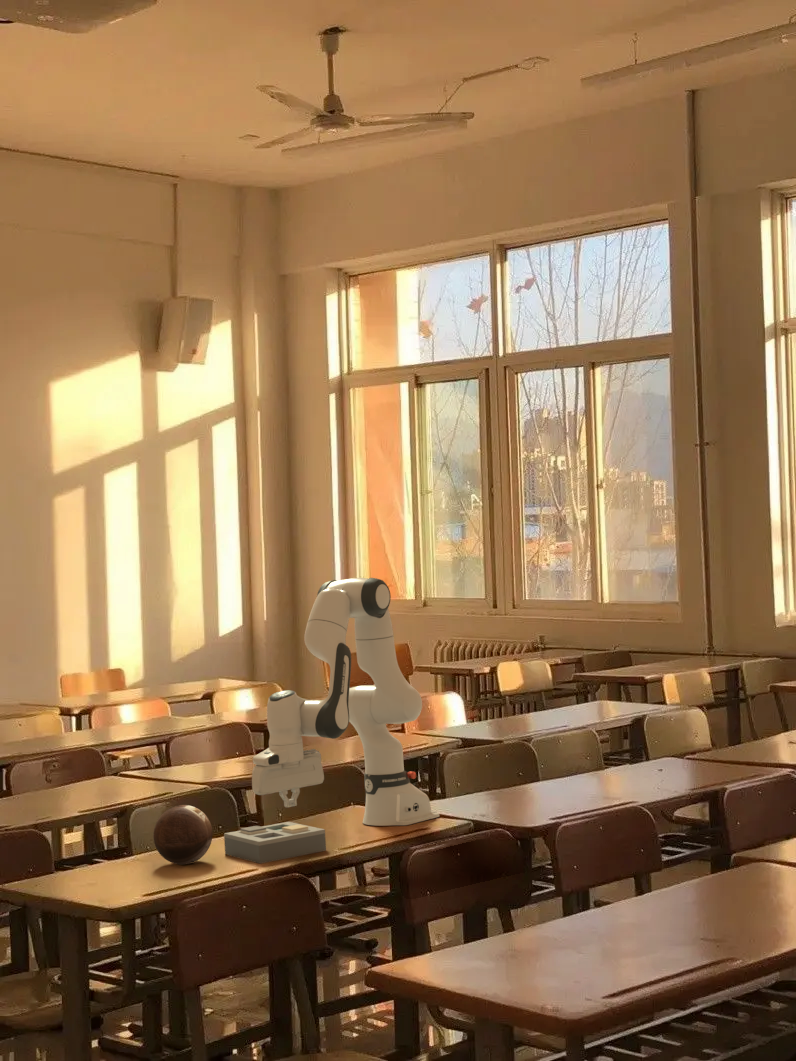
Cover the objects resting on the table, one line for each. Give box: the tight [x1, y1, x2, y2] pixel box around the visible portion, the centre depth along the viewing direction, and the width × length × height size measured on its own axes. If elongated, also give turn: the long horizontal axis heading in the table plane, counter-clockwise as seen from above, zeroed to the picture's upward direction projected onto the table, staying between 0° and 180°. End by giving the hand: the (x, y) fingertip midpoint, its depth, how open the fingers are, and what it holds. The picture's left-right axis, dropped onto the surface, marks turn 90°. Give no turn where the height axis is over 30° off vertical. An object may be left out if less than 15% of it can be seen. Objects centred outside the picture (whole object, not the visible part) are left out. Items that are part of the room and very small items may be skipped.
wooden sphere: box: [152, 804, 213, 865], centre depth 385 cm, size 15×15×15 cm
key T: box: [282, 823, 309, 834], centre depth 392 cm, size 5×5×3 cm
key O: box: [239, 825, 266, 835], centre depth 394 cm, size 5×5×3 cm
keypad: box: [223, 821, 327, 864], centre depth 393 cm, size 20×18×6 cm
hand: (290, 806), depth 392 cm, fingers closed
